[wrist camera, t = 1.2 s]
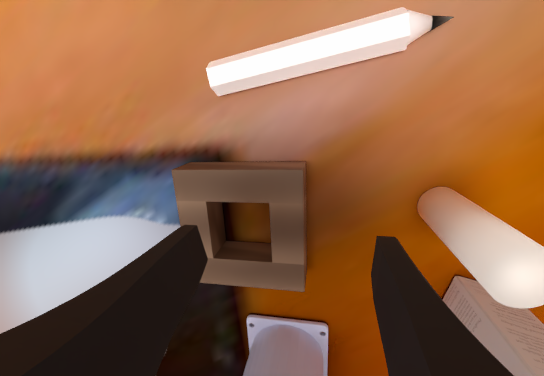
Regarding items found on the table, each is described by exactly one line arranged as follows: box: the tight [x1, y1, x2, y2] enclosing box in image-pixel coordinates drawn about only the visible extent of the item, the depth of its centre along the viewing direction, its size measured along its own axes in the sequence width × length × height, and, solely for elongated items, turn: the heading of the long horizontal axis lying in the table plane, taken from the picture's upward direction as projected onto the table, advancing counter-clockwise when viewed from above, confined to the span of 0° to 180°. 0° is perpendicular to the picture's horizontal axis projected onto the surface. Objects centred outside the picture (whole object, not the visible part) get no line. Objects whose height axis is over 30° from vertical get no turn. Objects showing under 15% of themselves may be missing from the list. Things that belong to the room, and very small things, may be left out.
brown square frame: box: [172, 161, 307, 292], centre depth 21 cm, size 10×10×3 cm
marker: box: [206, 7, 453, 96], centre depth 17 cm, size 3×2×16 cm
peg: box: [417, 187, 544, 308], centre depth 15 cm, size 3×3×9 cm
